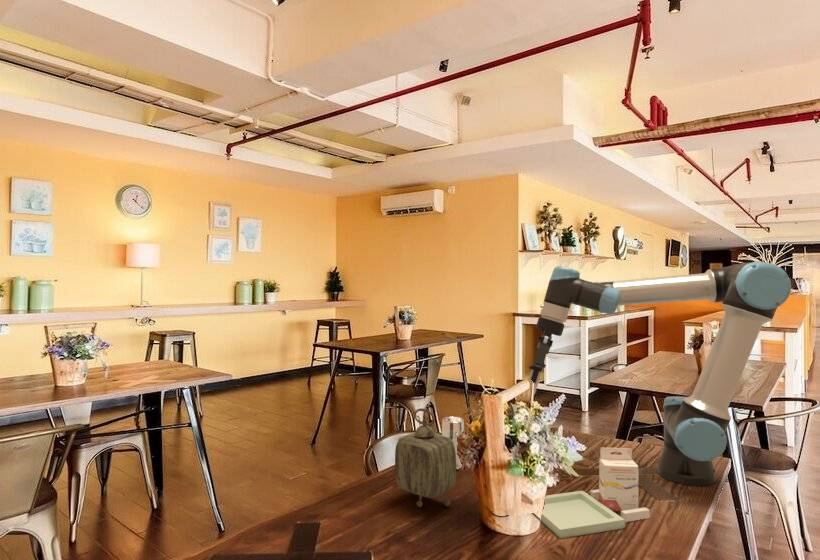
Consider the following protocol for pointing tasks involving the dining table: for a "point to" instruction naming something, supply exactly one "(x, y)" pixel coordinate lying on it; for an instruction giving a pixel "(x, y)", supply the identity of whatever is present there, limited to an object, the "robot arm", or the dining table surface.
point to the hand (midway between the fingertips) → (530, 390)
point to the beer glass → (453, 432)
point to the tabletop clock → (425, 462)
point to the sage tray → (578, 515)
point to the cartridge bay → (627, 514)
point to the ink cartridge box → (618, 479)
